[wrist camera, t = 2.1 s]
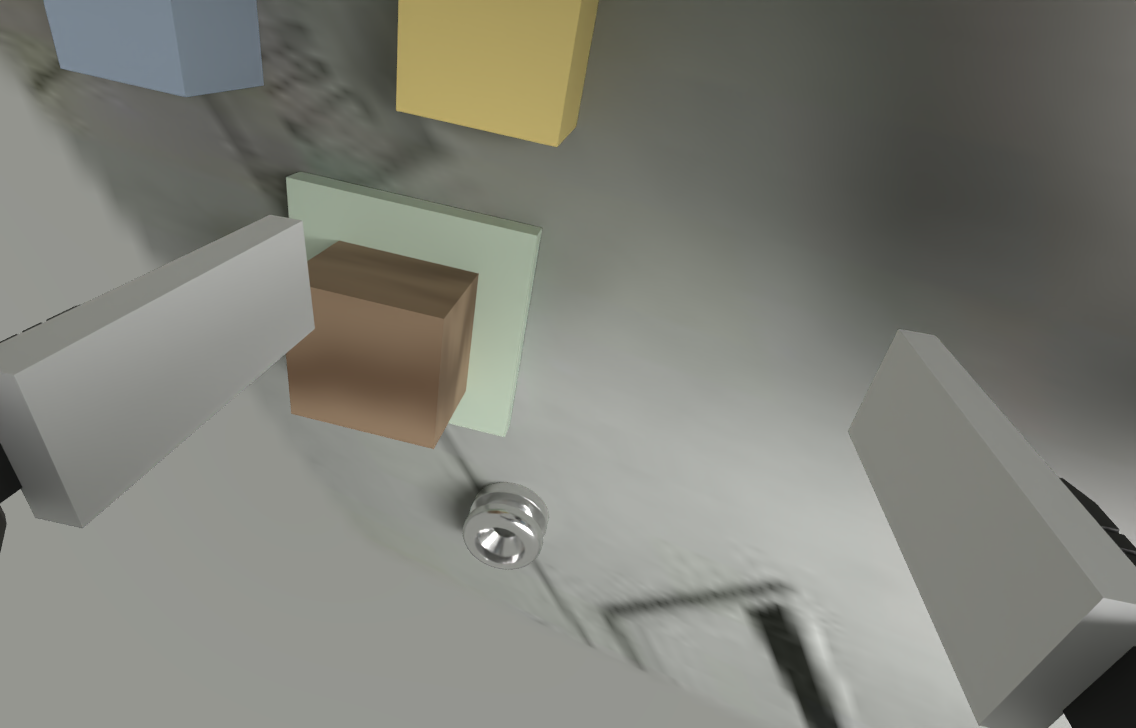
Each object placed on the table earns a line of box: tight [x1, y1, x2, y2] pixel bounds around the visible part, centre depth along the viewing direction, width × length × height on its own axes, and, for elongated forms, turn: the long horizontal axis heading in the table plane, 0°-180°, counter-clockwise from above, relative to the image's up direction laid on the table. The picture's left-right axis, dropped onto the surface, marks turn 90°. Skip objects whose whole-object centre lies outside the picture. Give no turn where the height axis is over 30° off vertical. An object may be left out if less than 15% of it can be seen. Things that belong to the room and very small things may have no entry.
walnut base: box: [286, 241, 479, 449], centre depth 27 cm, size 7×7×5 cm
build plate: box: [286, 172, 542, 437], centre depth 30 cm, size 12×12×1 cm
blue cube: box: [43, 0, 264, 97], centre depth 22 cm, size 5×5×5 cm
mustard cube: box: [396, 0, 599, 147], centre depth 21 cm, size 6×6×5 cm
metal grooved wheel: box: [463, 482, 549, 570], centre depth 36 cm, size 5×3×5 cm
